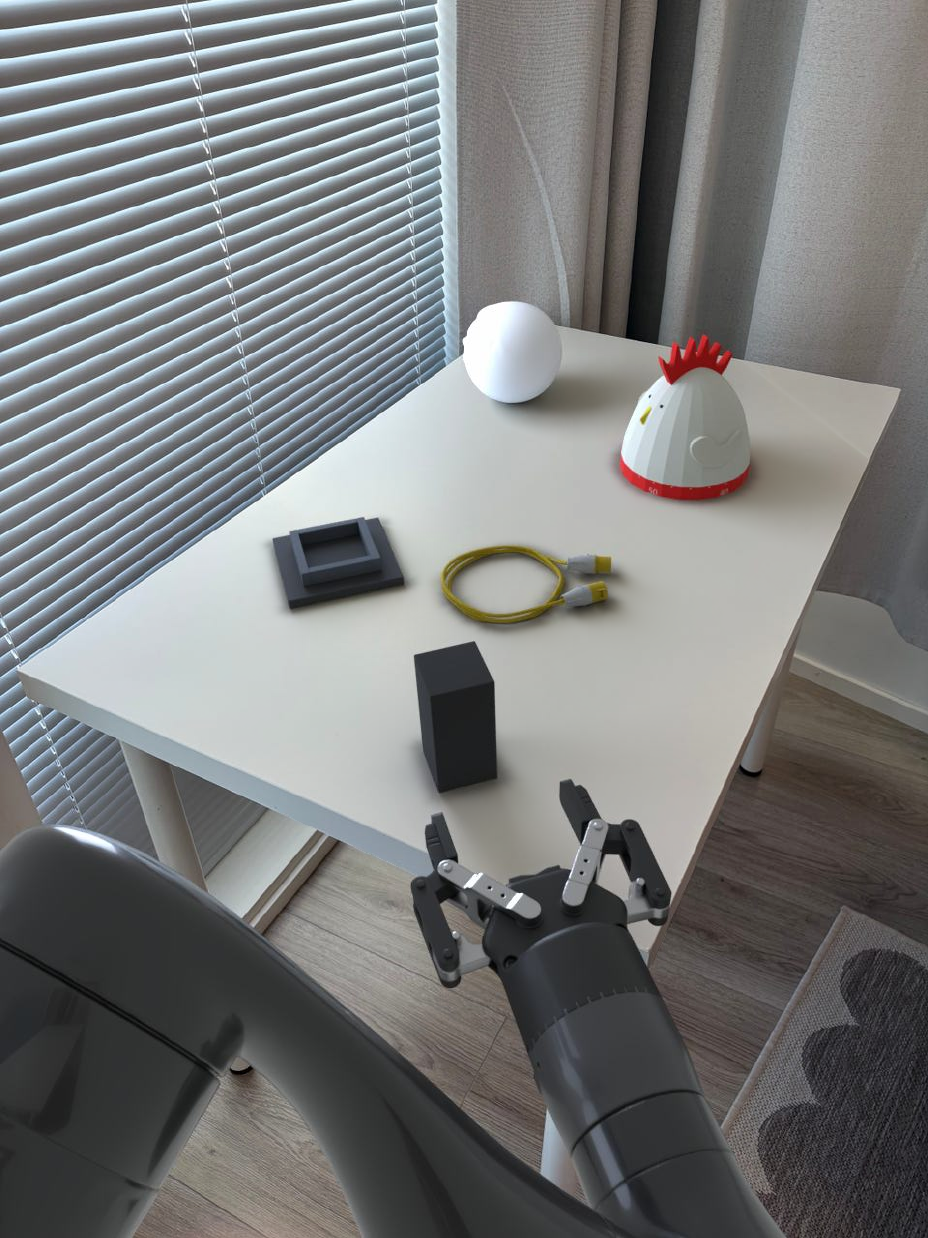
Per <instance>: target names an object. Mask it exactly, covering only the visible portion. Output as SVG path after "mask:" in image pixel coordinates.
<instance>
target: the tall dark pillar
mask: <svg viewBox="0 0 928 1238" xmlns="http://www.w3.org/2000/svg"><path fill="white" fill-rule="evenodd" d="M413 664H414V665H413V666H414V673H415V674H414V675H415V683H416V695H417V703H418V704H417V705H418V715H419V724H420V733H421V743H422V751H423V754H424V757H425V760H426V764H427V766H428V768H429V771H430V774H431V776H432V779H433V782H434V785H435V787H436V790H437V793H438V794H443V793H446V792H449V791H453V790H457V789H461V788H464V787H465V788H466V787H468V786H473V785H476V784H480V783H484V782H485V783H486V782H487V781H492V780H496V779H498V761H497V760H498V759H497V758H498V757H497V756H498V755H497V728H496V727H497V724H496V723H497V722H496V720H497V719H496V689H495V684H496V683H495V680H494V678H493V675H492V674H491V671H490V669H489V667H488V665H487V663H486V661H485V659H484V657H483V655H482V653H481V651H480V649H479V647H478V645H477V643H476V641H475V640H472V641H468V642H464V643H460V644H456V645H451V646H446V647H442V648H437V649H433V650H429V651H423V652H420V653H415V654H413Z"/></svg>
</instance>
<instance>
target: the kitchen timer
mask: <svg viewBox="0 0 928 1238" xmlns="http://www.w3.org/2000/svg"><path fill="white" fill-rule="evenodd" d="M721 351H722V344H720V343H718V342H717V341H715V342H714V343H713V345H712V347H711V348H710V338H709V337H708V336H707V335H705V334H702V336H701V337H700V341H699V344H698V347H697V341H696V339H695V338H693V337H691V336H690V337H689V339H688V341H687V344H686V347H685V351H684V354H683V357H682V352H681V348H680V345H679V344H678V343H676V342H674V341H673V342H672V344H671V351H670V357H669V362H666V360H665V359H664V358H662V357H661V356H660V355H658V362H659V367H660V369H661V371H662V373H663V375H662V376H661V377H659V378H658V379H657V380H656V381H655V382H654V383H653V384H652V385H651V386H650V388H648V389H646V390H645V391H643V392H642V394H640V396H639V398H638V401H637V405H636V407H635V409H634V411H633V414H632V416H631V418H630V421H629V422H628V425H627V427H626V431H625V434H624V437H623V441H622V446H621V451H620V460H619V461H620V462H619V468H620V470H621V473H622V476H623V477H624V478H625V479H626V480H627V481H628V482H629V483H630V484H631V485H632V486H635V487H636V488H638V489H640V491H642V492H645V493H649V494H650V495H654V496H657V497H659V498H666V499H671V500H678V501H702V500H703V501H704V500H709V499H715V498H716V499H717V498H720V497H722V496H725V495H728V494H731V493H733V492H735V491H736V490H738V489H739V488H740V487H742V486H743V485H744V483H745V481H746V480H747V478H748V476H749V472H750V465H751V441H750V439H751V438H750V431H749V427H748V422H747V417H746V412H745V409H744V407H743V404H742V402H741V400H740V398H739V396H738V395H737V393H736V391H735V390H734V388H733V386H732V385H731V383H730V382H729V381H728V380H727V379H726V378H725V377H724V376H723V374H724V373H725V371H726V369H727V367H728V366H729V364H730V362H731V360H732V357H733V353H732V352H730V351H729V350H725V352H724V353H723V355H722V356H721V357H720V359H719V355H720V353H721ZM718 359H719V360H718Z"/></svg>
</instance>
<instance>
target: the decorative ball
mask: <svg viewBox="0 0 928 1238" xmlns="http://www.w3.org/2000/svg"><path fill="white" fill-rule="evenodd" d="M462 345H463V346H464V348H463V357H462V359H463V363H464V364H465V369H466V371H467V374H468V376H469V378H470V380H471V381H472V383H473V384H474V385H475V386H476V387H477V389H478V390H479V391H480V392H482V393H483V394H484V395H485V396H487V397H488V398H490V399H492V400H495V401H497V402H501V403H508V404H517V403H523V402H527V401H530V400H532V399H535V398H536V397H538V396H539V395H541V394H542V393H544V392H545V391H546V390H547V389H548V388H549V387H551V385H552V383H553V382H554V381H555V380H556V379H555V378H557V376H558V373H559V370H560V368H561V363H562V359H563V343H562V339H561V336H560V333H559V330H558V328H557V326H556V324H555V323H554V321H553V320H552V319H551V317H549V315H548V314H546V313H545V312H544V311H543V310H542V309H540V308H538V307H537V306H536V305H533V304H530V303H528V302H523V301H515V300H514V301H501V302H498V303H494V304H489V305H487V306H485V307H484V308H482V309H481V310H479V312H478V313H477V316H476V319H475V320H474V321H473V322H472V323H471V324H470V326H469V327H468V329H467V333H466V336H465V337H463V339H462Z"/></svg>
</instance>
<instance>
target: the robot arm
mask: <svg viewBox="0 0 928 1238" xmlns="http://www.w3.org/2000/svg"><path fill="white" fill-rule="evenodd" d="M558 792H559V793H558V795H559V796H558V798H559V802H560V805H561V808H562V810H563V812H564V814H565V816H566V818H567V821H568V822H569V824H570V826H571V828H572V830H573V832H574V835H575V837H576V838H577V840H578V843H579V847H578V850H577V853H576V856H575V859H574V861H573V864H572V867H571V869H570V868H563V867H562V868H561V866H560V864H556V865H553V866H550V867H546V868H544V869H543V870H541V871H539V872H538V873H534V874H521V875H518V876H514V877H511V878H508V883H507V884H503V883H501V882H499V881H498V880H496V879H494V878H492V877H491V876H490V875H487V874H486V873H484V872H478V873H475V872H474V871H472V870H470V869H468V868H467V867H465V866H463V865H462V864H460V863H459V854H458V852H457V849H456V847H455V843H454V841H453V838H452V835H451V833H450V830H449V827H448V824H447V821H446V818H445V816H444V813H443V812H442V811H441V812H437V813H434V814H431V815H430V819H431V823H429V824H426V825H425V828H424V838H425V848H426V850H427V853H428V856H429V859H430V862H431V866H432V869H433V870H432V872H431V873H430V874H428V875H426V876H425V875H419V876H416V877H414V878H413V879H412V880H411V882H410V885H409V887H410V892H411V895H412V903H413V904H412V909H413V913H414V916H415V918H416V922H417V923H418V927H419V929H420V932H421V935H422V937H423V940H424V942H425V945H426V948H427V951H428V953H429V956H430V958H431V961H432V964H433V966H434V969H435V971H436V974H437V977H438V980H439V982H440V984H441V986H442V987H444V988H446V989H454V988H456V987H459V985H460V984H461V982H462V976H464V975H467V974H470V973H473V972H475V971H478V970H480V969H484V968H486V967H488V968H489V969H490V970H491V971H493V973H495V974H496V975H497V977H498V978H499V980H500V981H501V984H502V986H503V990H504V992H505V995H506V998H507V1000H508V1004H509V1006H510V1008H511V1009H510V1010H511V1012H512V1014H513V1018H514V1020H515V1023H516V1026H517V1028H518V1032H519V1034H520V1037H521V1039H522V1042H523V1046H524V1048H525V1050H526V1054H527V1057H528V1059H529V1062H530V1065H531V1068H532V1070H533V1071H532V1073H533V1075H532V1076H533V1079H534V1082H535V1085H536V1088H537V1090H538V1092H539V1094H540V1096H542V1098H543V1101H544V1104H545V1107H546V1109H547V1111H548V1114H549V1116H550V1118H551V1121H552V1122H553V1125H554V1126H555V1129H556V1130H557V1132H558V1134H559V1136H560V1138H561V1140H562V1142H563V1144H564V1146H565V1147H566V1150H567V1151H566V1152H567V1153H568V1156H569V1158H570V1160H571V1162H572V1165H573V1167H574V1170H575V1174H576V1176H577V1179H578V1181H579V1184H580V1187H581V1189H582V1192H583V1195H584V1198H585V1202H586V1203H587V1204H586V1203H584V1202H582V1201H581V1200H579V1199H578V1198H576V1197H574V1196H573V1195H572V1194H569V1192H566V1191H565V1190H564V1189H562V1188H560V1186H558V1185H556V1184H555V1183H553V1182H552V1181H551V1180H549V1179H548V1178H547V1177H545V1176H544V1175H543V1174H542V1173H540V1172H539V1171H537V1170H535V1169H534V1168H533V1167H531V1166H530V1165H528V1164H527V1163H526V1162H525V1161H523V1160H522V1159H521V1158H520V1157H518V1156H517V1155H516V1154H515V1153H514V1152H512V1151H511V1150H510V1149H508V1148H507V1147H506V1146H505V1145H504V1144H502V1143H501V1142H500V1141H499V1140H497V1139H496V1138H495V1137H494V1136H493V1135H491V1133H489V1132H488V1131H487V1129H484V1127H482V1126H481V1125H480V1124H479V1123H478V1122H477V1121H475V1119H473V1118H472V1117H471V1116H469V1115H468V1113H466V1112H465V1110H463V1109H462V1108H461V1107H460V1106H459V1105H458V1104H457V1103H456V1102H455V1101H453V1100H452V1099H451V1098H450V1097H449V1096H448V1095H447V1094H446V1093H445V1092H444V1091H443V1090H441V1088H439V1087H438V1086H437V1085H436V1084H435V1083H434V1082H433V1081H432V1080H431V1079H430V1078H429V1077H427V1075H425V1074H424V1073H423V1072H422V1071H421V1070H420V1069H419V1068H417V1067H416V1066H415V1065H414V1064H413V1063H412V1062H411V1061H410V1060H409V1059H407V1058H406V1057H405V1056H404V1055H403V1054H402V1053H400V1052H399V1051H398V1050H397V1049H396V1048H395V1047H394V1046H393V1045H391V1044H390V1043H389V1041H387V1040H386V1039H385V1038H383V1036H381V1035H380V1034H379V1033H378V1032H376V1031H375V1030H374V1029H373V1028H372V1027H371V1026H370V1025H368V1023H366V1022H365V1021H363V1020H362V1019H361V1018H360V1017H359V1016H357V1014H355V1013H354V1012H353V1011H352V1010H350V1009H349V1008H348V1007H347V1006H346V1005H345V1004H343V1003H342V1002H341V1001H340V1000H339V999H338V998H336V997H335V996H334V995H333V994H332V993H330V991H328V990H327V989H326V988H325V987H323V986H322V985H321V984H320V983H319V982H318V981H317V980H316V979H314V978H313V977H312V976H311V975H310V974H309V973H308V972H306V971H305V970H304V969H303V968H302V967H301V966H300V965H299V964H297V963H296V962H295V961H293V960H292V959H291V958H290V957H289V956H288V955H286V954H285V953H284V952H283V951H282V950H280V949H279V948H278V947H277V946H276V945H275V944H273V942H271V941H270V940H268V938H266V937H265V936H264V935H263V934H262V933H260V932H259V931H258V930H257V929H256V928H254V927H253V926H252V925H251V924H250V923H248V922H247V921H246V920H245V919H243V918H242V917H240V916H239V915H238V914H237V913H235V912H234V911H233V910H232V909H230V908H229V907H228V906H227V905H225V904H224V903H223V902H222V901H220V900H218V899H217V898H216V897H215V896H213V895H212V894H210V893H209V892H207V891H206V890H205V889H203V888H202V887H200V886H199V885H197V884H196V883H195V882H193V881H191V880H190V879H189V878H187V877H186V876H185V875H184V874H182V873H180V872H178V871H177V870H175V869H174V868H172V867H170V866H168V865H166V864H164V863H163V862H162V861H160V860H158V859H157V858H154V857H153V856H152V855H149V854H148V853H145V851H142V850H140V849H137V848H136V847H134V846H131V845H129V844H127V843H124V842H122V841H120V840H117V839H116V838H113V837H111V836H109V835H106V834H103V833H101V832H98V831H94V830H90V829H87V828H83V827H80V826H77V825H70V824H62V823H55V824H53V823H52V824H48V823H47V824H39V825H35V826H30V827H28V828H25V830H22V831H21V832H19V833H17V834H16V835H15V836H14V837H13V838H11V840H10V841H9V842H7V844H6V845H5V846H4V847H3V848H2V849H1V850H0V1238H133V1237H134V1235H135V1233H136V1232H137V1231H138V1229H139V1227H140V1225H141V1223H142V1222H143V1220H144V1218H145V1217H146V1215H147V1214H148V1212H149V1210H150V1209H151V1207H152V1205H153V1204H154V1201H155V1200H156V1198H157V1196H158V1194H159V1192H160V1188H161V1187H163V1186H164V1184H165V1182H166V1180H167V1179H168V1177H169V1175H170V1173H171V1171H172V1170H173V1169H174V1166H175V1165H176V1163H177V1161H178V1159H179V1158H180V1156H181V1154H182V1152H183V1151H184V1149H185V1148H186V1145H187V1144H188V1142H189V1141H190V1139H191V1137H192V1135H193V1134H194V1132H195V1130H196V1128H197V1126H198V1125H199V1123H200V1121H201V1120H202V1118H203V1116H204V1115H205V1113H206V1110H207V1109H208V1107H209V1105H210V1104H211V1102H212V1100H213V1099H214V1097H215V1095H216V1093H217V1092H218V1089H220V1086H221V1084H222V1083H221V1081H220V1079H221V1078H225V1077H226V1075H227V1074H228V1072H229V1070H230V1069H231V1067H232V1066H233V1064H234V1062H235V1061H236V1059H237V1058H239V1059H241V1060H243V1062H245V1063H246V1064H248V1065H249V1066H250V1067H251V1068H252V1069H254V1070H255V1071H256V1072H257V1073H259V1075H261V1076H262V1078H264V1079H265V1080H266V1081H267V1082H268V1083H269V1084H271V1085H272V1087H274V1089H276V1090H277V1091H278V1093H280V1095H281V1096H282V1097H283V1098H284V1099H285V1100H286V1101H287V1102H288V1103H289V1104H290V1106H291V1107H292V1108H293V1109H294V1111H295V1112H296V1113H297V1115H298V1116H299V1117H300V1119H301V1120H302V1121H303V1123H304V1124H305V1126H306V1127H307V1129H308V1130H309V1132H310V1134H311V1135H312V1136H313V1138H314V1139H315V1141H316V1143H317V1145H318V1146H319V1148H320V1150H321V1152H322V1155H323V1156H324V1159H325V1160H326V1162H327V1164H328V1166H329V1168H330V1169H331V1172H332V1173H333V1175H334V1177H335V1179H336V1182H337V1183H338V1185H339V1188H340V1190H341V1191H342V1194H343V1196H344V1199H345V1201H346V1203H347V1205H348V1207H349V1210H350V1212H351V1214H352V1217H353V1220H354V1221H355V1224H356V1226H357V1229H358V1231H359V1233H360V1235H361V1238H788V1237H787V1236H786V1234H785V1233H784V1232H783V1229H781V1228H780V1226H779V1225H778V1224H777V1222H776V1221H775V1219H774V1218H773V1217H772V1216H771V1214H770V1213H769V1211H768V1210H767V1208H766V1207H765V1205H764V1204H763V1203H762V1202H761V1200H760V1198H759V1197H758V1195H757V1194H756V1192H755V1191H754V1189H753V1188H752V1187H751V1184H750V1183H749V1182H748V1180H747V1177H746V1176H745V1174H744V1172H743V1171H742V1169H741V1166H740V1164H739V1162H738V1160H737V1158H736V1157H735V1154H734V1152H733V1149H732V1148H731V1146H730V1143H729V1142H728V1139H727V1137H726V1135H725V1134H724V1131H723V1129H722V1127H721V1125H720V1123H719V1121H718V1119H717V1117H716V1115H715V1113H714V1111H713V1109H712V1107H711V1105H710V1103H709V1101H708V1100H707V1097H706V1095H705V1092H704V1090H703V1087H702V1085H701V1083H700V1079H699V1077H698V1073H697V1071H696V1067H695V1065H694V1062H693V1059H692V1057H691V1054H690V1051H689V1049H688V1047H687V1045H686V1042H685V1040H684V1038H683V1036H682V1034H681V1033H680V1030H679V1029H678V1027H677V1024H676V1022H675V1020H674V1018H673V1016H672V1014H671V1012H670V1010H669V1008H668V1006H667V1003H666V1002H665V1000H664V997H663V996H662V994H661V991H660V990H659V988H658V986H657V984H656V982H655V979H654V978H653V976H652V974H651V972H650V969H649V968H648V965H647V964H646V961H645V960H644V957H643V956H642V954H641V951H640V950H639V948H638V946H637V943H636V942H635V941H636V940H634V937H633V935H632V934H631V932H630V931H629V927H628V925H631V924H634V923H637V922H642V921H647V922H648V923H649V924H651V925H652V926H655V927H662V926H664V925H666V924H667V922H668V919H669V912H670V907H671V901H672V890H671V887H670V886H669V884H668V881H667V878H666V877H665V875H664V873H663V870H662V869H661V867H660V865H659V863H658V860H657V858H656V856H655V854H654V851H653V849H652V847H651V846H650V844H649V841H648V839H647V837H646V835H645V833H644V831H643V829H642V826H641V824H639V822H638V821H637V820H635V819H631V818H627V819H624V820H622V822H621V823H620V824H619V823H608V822H607V821H606V820H604V819H603V818H602V817H601V815H600V812H599V811H598V808H597V807H596V806H595V805H596V804H595V803H594V801H593V800H592V797H591V795H590V794H589V792H588V790H587V789H586V788H585V787H584V786H583V785H581V784H578V785H575V783H574V781H573V779H571V778H569V779H564V780H560V781H559V791H558ZM607 855H609V856H610V855H611V856H612V855H613V856H614V855H617V856H619V859H620V861H621V864H622V866H623V867H624V870H625V872H626V874H627V877H628V879H629V882H630V884H629V886H628V893H627V899H626V900H623V899H622V898H621V897H620V896H618V895H617V894H615V893H613V892H612V891H610V890H608V889H607V888H605V887H603V886H601V885H600V884H598V883H599V880H600V874H601V872H602V868H603V865H604V862H605V859H606V856H607ZM445 902H447V903H449V905H452V906H453V907H456V908H457V909H458V910H460V911H462V912H464V913H465V914H466V916H467V917H468V918H469V920H470V921H471V922H472V923H473V924H475V925H477V926H479V927H480V928H481V929H484V932H483V935H482V938H481V942H480V943H474V942H471V941H470V940H469V939H468V937H467V936H466V935H464V933H461V932H460V931H459V930H454V931H453V932H452V931H451V928H450V926H449V923H448V921H447V919H446V915H445V913H444V911H443V908H442V906H441V905H442V903H445Z"/></svg>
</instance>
